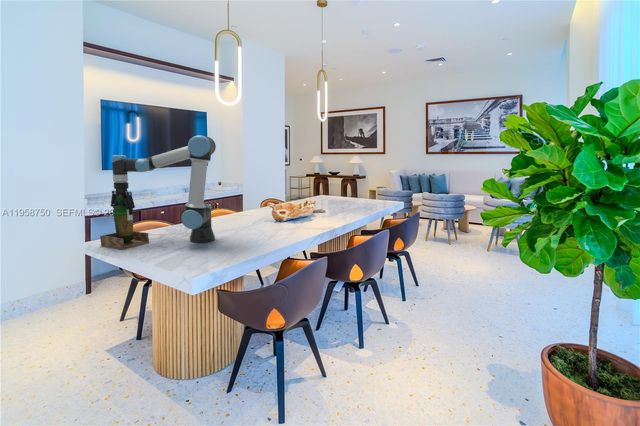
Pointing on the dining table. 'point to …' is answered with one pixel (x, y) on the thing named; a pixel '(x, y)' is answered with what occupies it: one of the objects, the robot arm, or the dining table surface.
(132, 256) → the dining table surface
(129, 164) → the robot arm
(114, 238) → the tray
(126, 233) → the bottle
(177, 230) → the dining table surface
